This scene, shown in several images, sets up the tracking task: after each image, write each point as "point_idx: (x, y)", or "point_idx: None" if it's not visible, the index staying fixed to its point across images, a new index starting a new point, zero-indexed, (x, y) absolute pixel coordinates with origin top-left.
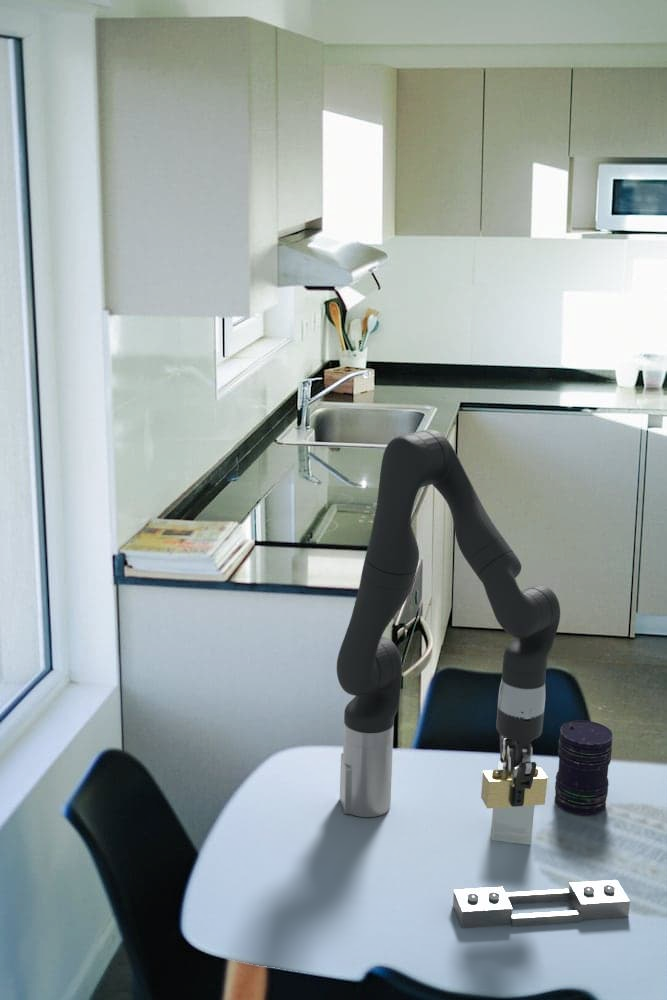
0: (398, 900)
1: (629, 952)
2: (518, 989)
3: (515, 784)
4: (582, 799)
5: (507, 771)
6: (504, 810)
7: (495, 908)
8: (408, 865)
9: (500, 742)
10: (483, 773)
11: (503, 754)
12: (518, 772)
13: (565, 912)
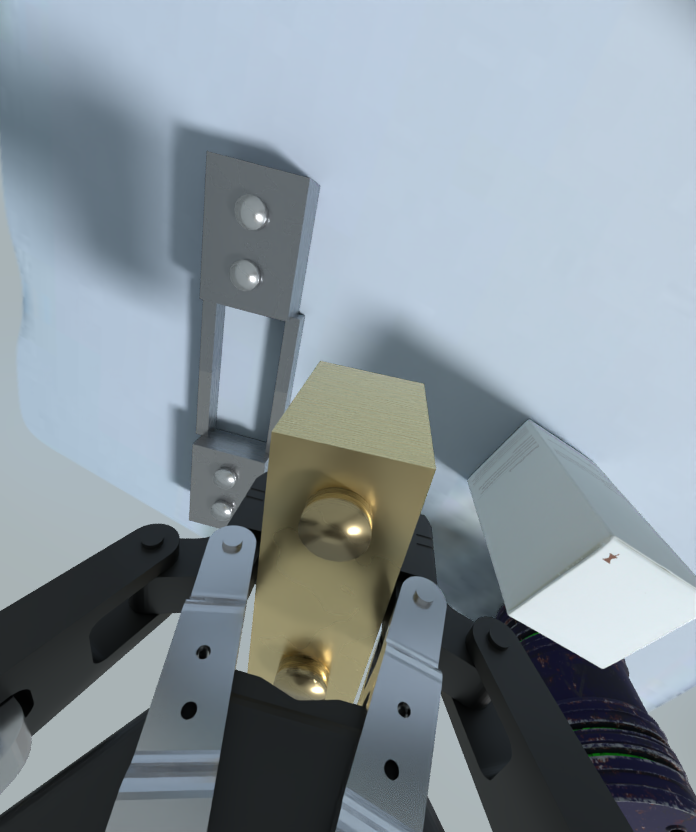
0: (396, 9)
1: (116, 448)
2: (8, 188)
3: (147, 547)
4: (516, 634)
5: (363, 590)
6: (535, 484)
7: (205, 255)
8: (547, 140)
9: (596, 796)
10: (420, 457)
11: (407, 708)
12: (4, 649)
13: (205, 409)
